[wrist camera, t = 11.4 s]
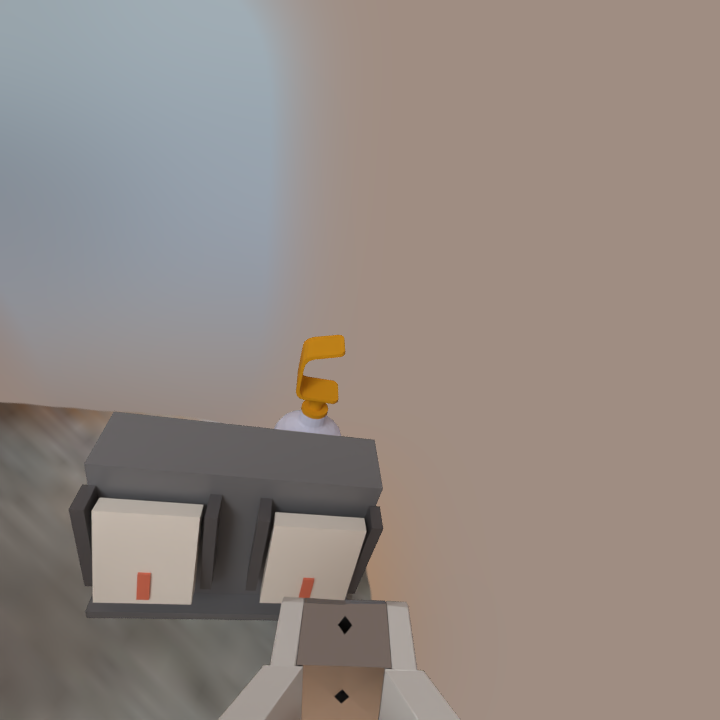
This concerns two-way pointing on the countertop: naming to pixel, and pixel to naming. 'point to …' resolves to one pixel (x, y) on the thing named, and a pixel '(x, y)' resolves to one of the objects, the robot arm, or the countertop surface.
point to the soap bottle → (315, 390)
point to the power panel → (226, 500)
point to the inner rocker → (145, 551)
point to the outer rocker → (311, 556)
